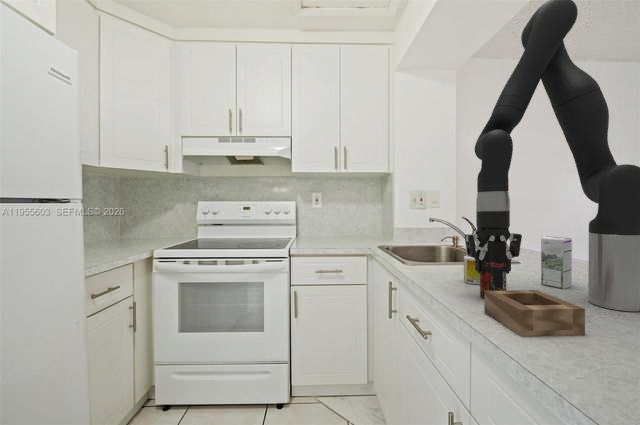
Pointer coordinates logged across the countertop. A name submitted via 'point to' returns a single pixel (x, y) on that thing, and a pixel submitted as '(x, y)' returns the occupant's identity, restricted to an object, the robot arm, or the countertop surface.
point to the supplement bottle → (470, 271)
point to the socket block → (534, 313)
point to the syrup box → (556, 262)
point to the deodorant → (493, 268)
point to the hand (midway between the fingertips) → (492, 273)
